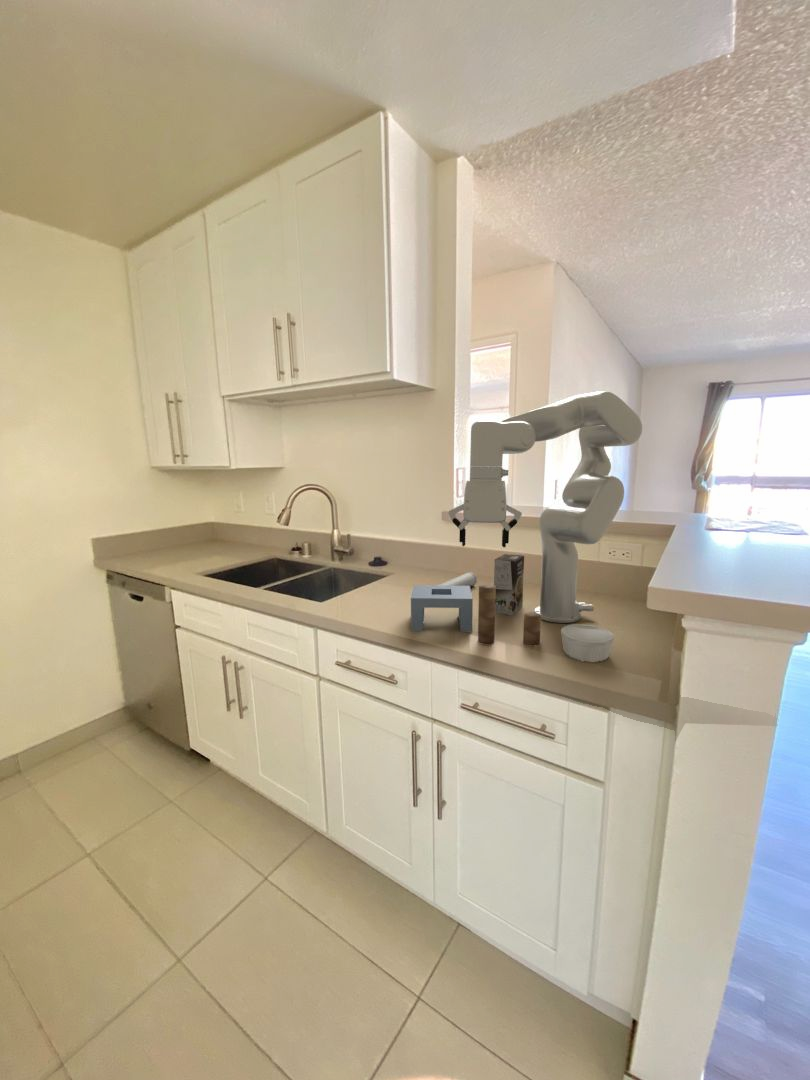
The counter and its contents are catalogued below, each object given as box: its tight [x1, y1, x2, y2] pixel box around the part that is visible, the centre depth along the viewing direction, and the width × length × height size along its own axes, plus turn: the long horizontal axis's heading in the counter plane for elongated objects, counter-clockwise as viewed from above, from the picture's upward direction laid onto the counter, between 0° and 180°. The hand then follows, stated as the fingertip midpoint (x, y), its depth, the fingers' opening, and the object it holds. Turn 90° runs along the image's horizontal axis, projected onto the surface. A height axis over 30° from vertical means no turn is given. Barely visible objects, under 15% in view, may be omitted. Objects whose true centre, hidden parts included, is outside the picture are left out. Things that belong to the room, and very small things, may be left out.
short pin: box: [522, 611, 542, 647], centre depth 106 cm, size 4×4×7 cm
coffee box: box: [493, 553, 525, 616], centre depth 129 cm, size 9×6×16 cm
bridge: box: [410, 584, 474, 633], centre depth 119 cm, size 16×12×9 cm
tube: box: [436, 571, 478, 588], centre depth 146 cm, size 5×5×25 cm
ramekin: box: [560, 623, 615, 662], centre depth 99 cm, size 11×11×5 cm
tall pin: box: [477, 584, 496, 646], centre depth 106 cm, size 4×4×14 cm
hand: (483, 545), depth 106 cm, fingers open, 9 cm apart
